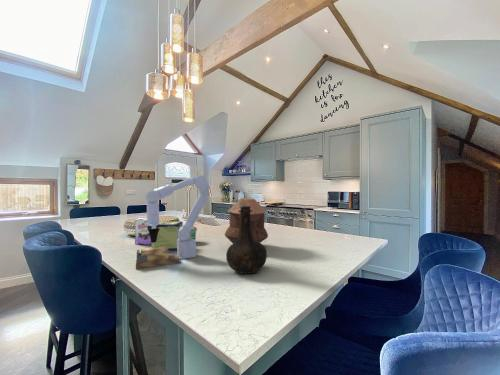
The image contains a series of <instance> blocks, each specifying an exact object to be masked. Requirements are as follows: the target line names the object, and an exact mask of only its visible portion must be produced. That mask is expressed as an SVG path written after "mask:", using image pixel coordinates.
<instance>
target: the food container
mask: <svg viewBox="0 0 500 375" xmlns="http://www.w3.org/2000/svg"><path fill="white" fill-rule="evenodd" d="M197 231H198V229H197V226H194V225H193V227H192V230H191V232H190V238H191V239H195V240H196V239H197V236H196V235H197Z"/></svg>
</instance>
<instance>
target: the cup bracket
mask: <svg viewBox="0 0 500 375" xmlns="http://www.w3.org/2000/svg"><path fill="white" fill-rule="evenodd" d="M136 259H137V263H143V262H147V255H143V256H141V249H137V250H136Z"/></svg>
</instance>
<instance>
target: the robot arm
mask: <svg viewBox="0 0 500 375" xmlns="http://www.w3.org/2000/svg"><path fill="white" fill-rule="evenodd" d="M189 186H191V187H193V186H196V188H197V189H198V193H199V196H198V198H197V200H196V202H195V203H194V205H193V207H192V208H191V210H190V212H189V214H188V216H187V217H186V220H185V222H184V223H183V226H182V227H180V229H179V231H178V239H177V251H176V254H177V255H178V256H179V260H184V259H190V258H197V242H196V239H191V238H190V232H191V230H192V227H193V226H194V225H195V223H196V221H197V219H198V218H199V216H200V213H201V212H202V210H203V208H204V206H205V204H206V202H207V200H208V199H209V197H210V187H209V186H210V185H209V181H208V179H207V177H206V176H205V175H201V174H199V175H197V176H193V177H188V178H187V179H184V180H182V181H179V182H177V183H174V184H173V185H171V184H166V183H164V184H163V185H162V186H160V187H157V188H154V190H150V191H148V192H147V193H146V195H145V199H146V218H147V223H145V225H149V226H147V228H148V229H147V230H148V231H149V234H150V239H151V242H152V243H154V242H156V240H157V235H158V232H159V230H160V228H158V225H159V224H160V223H159V222H160V205H159V200H162V199H165V198H167V197H170V196H172V195H174V192H175V191H178V190H181V189H183V188H186V187H189Z"/></svg>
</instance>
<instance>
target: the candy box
mask: <svg viewBox="0 0 500 375" xmlns="http://www.w3.org/2000/svg"><path fill="white" fill-rule="evenodd" d="M145 223H147V217H146V218H142V217H138V218H135V219H134V244H135V245H150V246H152V242H151V239H150V234H149V231H148V230H147V229H148V228H147V226H149V225H145Z"/></svg>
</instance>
